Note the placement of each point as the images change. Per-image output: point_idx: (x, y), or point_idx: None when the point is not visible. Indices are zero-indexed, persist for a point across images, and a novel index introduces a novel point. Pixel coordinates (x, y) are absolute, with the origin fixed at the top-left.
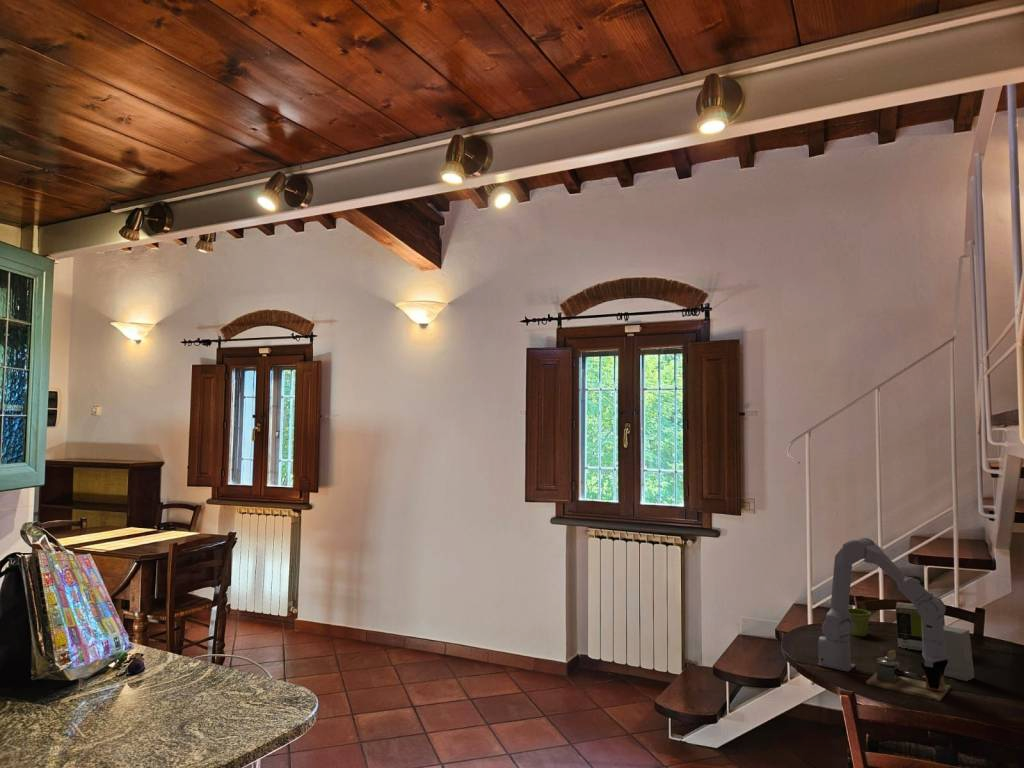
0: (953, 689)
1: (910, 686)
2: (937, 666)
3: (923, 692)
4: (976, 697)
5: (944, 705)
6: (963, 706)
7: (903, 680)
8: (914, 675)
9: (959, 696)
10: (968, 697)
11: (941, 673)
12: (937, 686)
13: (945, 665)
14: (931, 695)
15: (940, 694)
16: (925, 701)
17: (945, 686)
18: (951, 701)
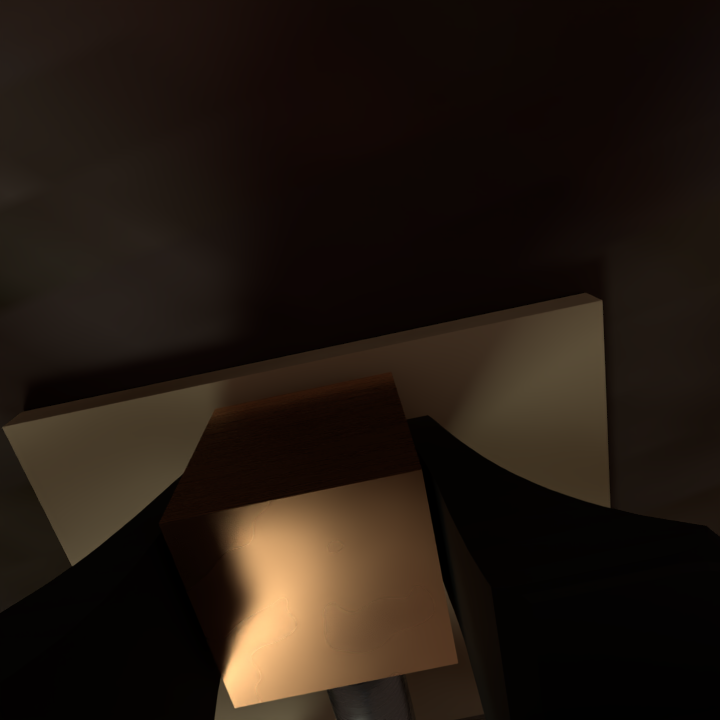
0: (29, 374)
1: (456, 620)
2: (674, 684)
3: (538, 482)
4: (29, 60)
5: (694, 200)
6: (557, 26)
7: (334, 717)
8: (408, 717)
9: (212, 224)
10: (139, 134)
11: (180, 557)
12: (444, 428)
13: (45, 653)
14: (573, 396)
15: (455, 352)
16: (706, 378)
17: (105, 440)
18: (485, 208)
